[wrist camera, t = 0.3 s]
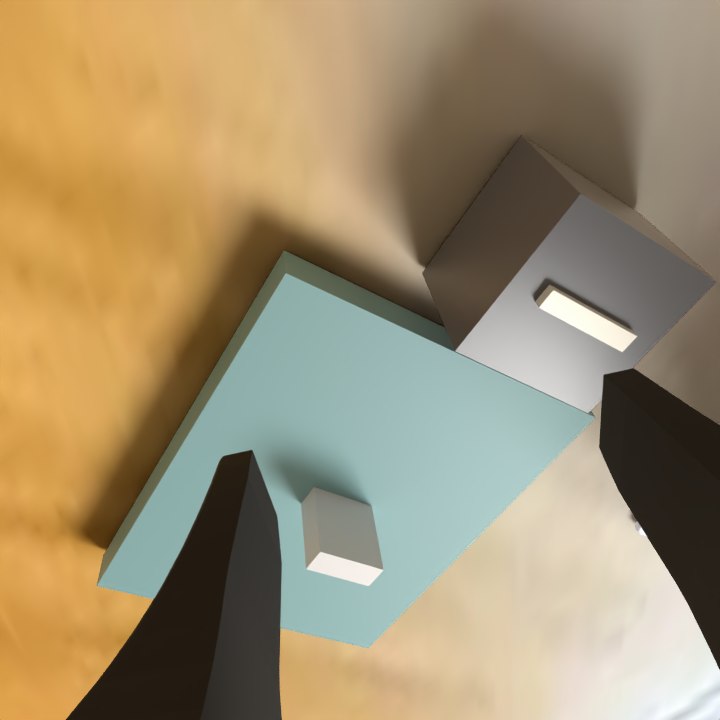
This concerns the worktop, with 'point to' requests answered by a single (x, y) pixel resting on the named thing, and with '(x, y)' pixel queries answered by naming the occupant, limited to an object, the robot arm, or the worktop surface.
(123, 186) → the worktop surface
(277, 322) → the base
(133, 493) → the worktop surface
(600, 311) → the grey drawer cube
